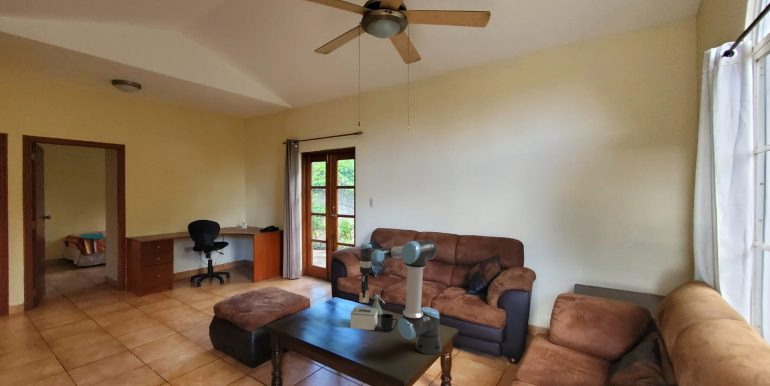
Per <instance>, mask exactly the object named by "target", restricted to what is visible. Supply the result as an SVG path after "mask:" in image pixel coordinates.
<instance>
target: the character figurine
mask: <svg viewBox="0 0 770 386" xmlns="http://www.w3.org/2000/svg"><path fill="white" fill-rule="evenodd" d="M370 300H374V301H373V302H372V306H371V307H370V308H377V309H378V312H377V318H378V317H380V315H382V314H384V313H383V310H382V307H381V305H380V302H379V300H380V301H381V302H382V304H384V305H386V302H385V301H384V300H383V298H382V297H380V295H379V292H378V291H375V292H374V295H373V296H372V297H369V301H370Z"/></svg>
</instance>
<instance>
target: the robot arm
mask: <svg viewBox="0 0 770 386" xmlns="http://www.w3.org/2000/svg"><path fill="white" fill-rule="evenodd" d="M359 250H360V251H359V252H360V253H359V254H360V256H359V257H360V258H359V266H360V267H359V273H360V274H362V275H361V291H360V292H361V293H362V302H365V303H366V292H367V293H368V291H369V277H370V274H371V272H372V261H373V262H375V263H381V262H383V261H385V260H391V259H402V261H403V262H404V265H405V267H406V268H407V274H406V277H407V278H406V293H405V294H406V295H405V309H404V310H403V311H402V317H400V318H399V319H398V323H397V327H398V331H399V333H400V335H401V336H402V337H403V338H404V339H406V340H412V339H416V338H417V339H416V341H415V349H416V351H418V352H419V353H421V354H425V355H431V356H432V355H438V354H440V353H441V352H442V350H443V349H442V343H441V339H440V312H439V311H438V310H437V309H435V308H432V307H426V306H425V307H424V306H423V307H422V297H423V295H422V294H423V277H424V275H423V274H424V269H425V268H426V267H427V261H430V260H433V259H434V258H435V257H437V255H438V250H439V249H438V246H437V244H436V243H435V242H434V241H433V240H430V239H421V240H412V241H408V242H405V244H403V245H399V246H391V247H384V248H382V247H381V248H373V245H372V244H371V243H367V242H366V243H364V242H363V243H361V244H360V249H359ZM362 302H361V303H362ZM365 303H364V304H365ZM366 304H367V303H366Z"/></svg>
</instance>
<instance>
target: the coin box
mask: <svg viewBox="0 0 770 386" xmlns="http://www.w3.org/2000/svg"><path fill="white" fill-rule="evenodd" d="M377 312H378V309H377V308H371V307H364V306H363V307H362V306H361V307H360V306H355V307H354V308H353V309H352V311H351V312H350V329H358V330H366V331H367V330H368V331H375V330H376V329H375V328H376V326H377V324H378V317H377Z"/></svg>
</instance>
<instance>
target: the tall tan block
mask: <svg viewBox="0 0 770 386" xmlns="http://www.w3.org/2000/svg"><path fill="white" fill-rule="evenodd" d="M358 296H359V297H358V301H359V303H364V304H365V302H362V293H361V291H360V292H359V295H358ZM369 299H370V292H368V291H367V292H366V304H369V302H370V300H369Z"/></svg>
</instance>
